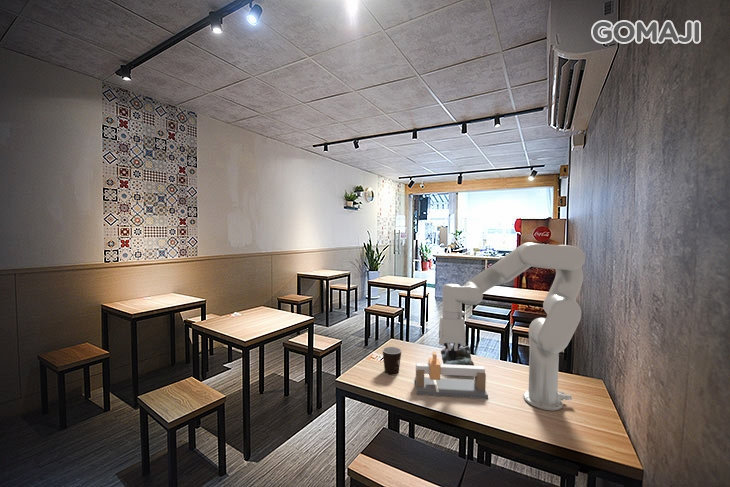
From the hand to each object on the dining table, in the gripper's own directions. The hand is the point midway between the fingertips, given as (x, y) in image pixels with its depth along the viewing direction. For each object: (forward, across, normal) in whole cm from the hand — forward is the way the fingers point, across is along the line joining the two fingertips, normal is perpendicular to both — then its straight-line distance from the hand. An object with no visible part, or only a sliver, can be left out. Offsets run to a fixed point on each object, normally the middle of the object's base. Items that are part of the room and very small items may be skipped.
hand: (452, 359), depth 126 cm
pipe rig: (+12, +1, 0) cm, 12 cm away
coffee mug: (+12, +24, -14) cm, 30 cm away
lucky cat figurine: (+13, -5, -17) cm, 22 cm away
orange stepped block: (+7, +7, 0) cm, 10 cm away
